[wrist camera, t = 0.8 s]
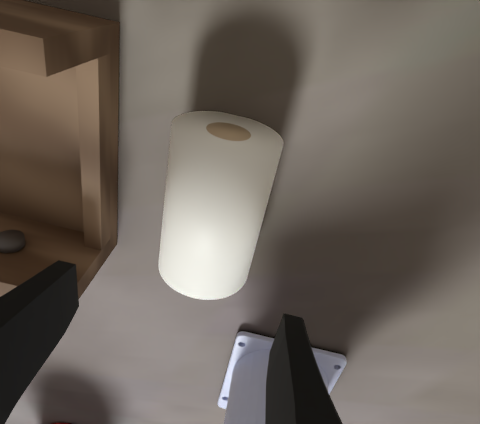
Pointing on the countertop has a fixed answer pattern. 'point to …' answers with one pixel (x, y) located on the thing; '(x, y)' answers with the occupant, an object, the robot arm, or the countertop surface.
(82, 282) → the holder
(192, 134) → the roll
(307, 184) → the countertop surface
